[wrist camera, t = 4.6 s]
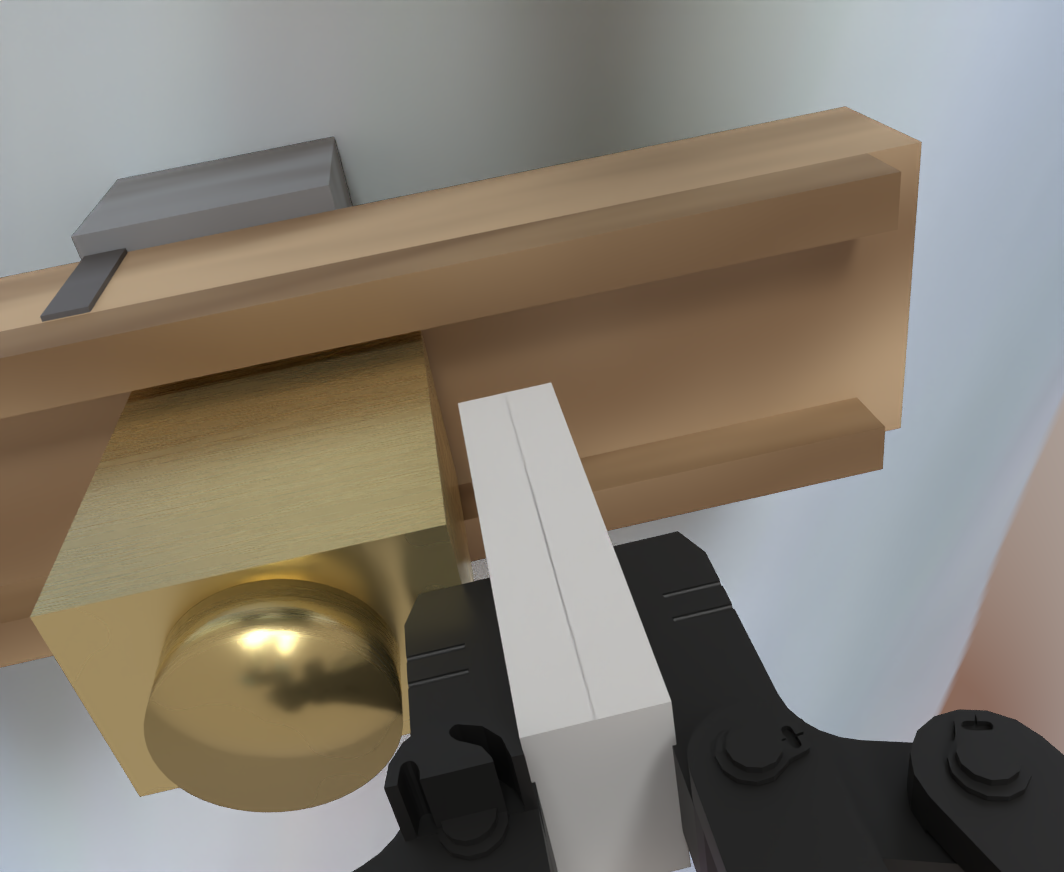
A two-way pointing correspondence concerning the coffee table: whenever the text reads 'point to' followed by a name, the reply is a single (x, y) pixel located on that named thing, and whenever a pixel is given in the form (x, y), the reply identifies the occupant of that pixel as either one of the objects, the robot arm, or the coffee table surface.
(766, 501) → the coffee table surface
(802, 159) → the beam
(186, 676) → the rider
